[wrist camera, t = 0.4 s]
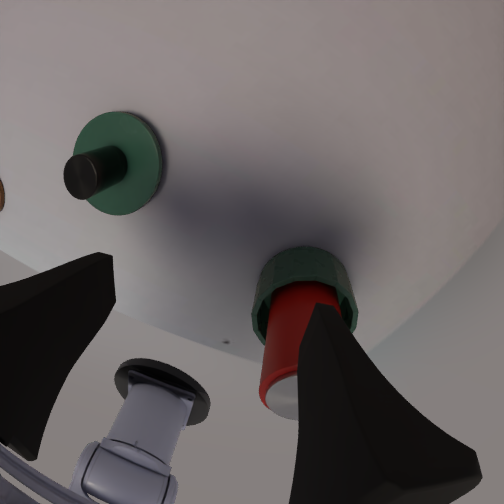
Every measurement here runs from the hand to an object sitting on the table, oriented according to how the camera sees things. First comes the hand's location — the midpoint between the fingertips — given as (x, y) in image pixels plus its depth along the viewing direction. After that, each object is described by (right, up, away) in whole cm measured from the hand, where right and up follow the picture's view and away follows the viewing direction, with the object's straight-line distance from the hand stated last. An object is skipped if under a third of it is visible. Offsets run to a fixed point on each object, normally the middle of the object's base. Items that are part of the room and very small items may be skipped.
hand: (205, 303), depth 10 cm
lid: (-7, +7, +6) cm, 12 cm away
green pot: (+5, -1, +9) cm, 10 cm away
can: (+5, -1, +9) cm, 10 cm away
